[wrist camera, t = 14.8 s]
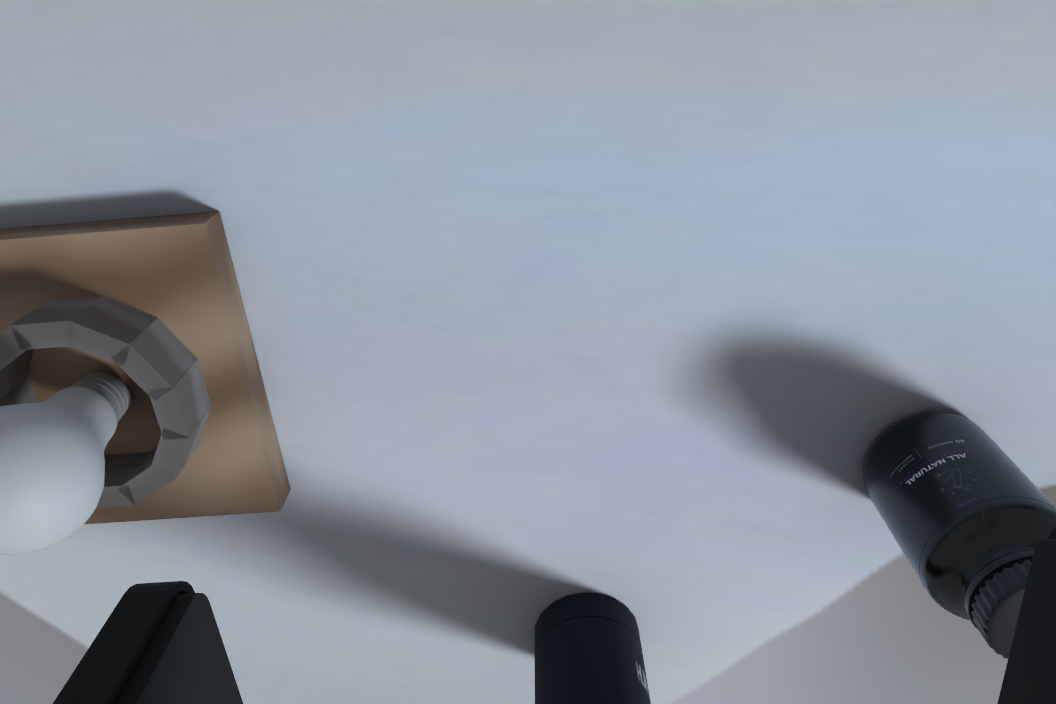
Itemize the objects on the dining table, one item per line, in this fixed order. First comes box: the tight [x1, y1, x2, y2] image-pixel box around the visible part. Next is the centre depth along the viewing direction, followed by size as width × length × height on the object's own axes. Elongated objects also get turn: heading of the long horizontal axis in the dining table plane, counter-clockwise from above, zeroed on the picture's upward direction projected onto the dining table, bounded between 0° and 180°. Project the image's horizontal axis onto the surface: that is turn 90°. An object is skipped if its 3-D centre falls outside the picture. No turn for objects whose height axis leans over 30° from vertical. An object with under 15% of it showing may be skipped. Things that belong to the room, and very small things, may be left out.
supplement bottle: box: [863, 412, 1056, 658], centre depth 39 cm, size 7×7×12 cm
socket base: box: [0, 212, 290, 524], centre depth 40 cm, size 16×14×5 cm
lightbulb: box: [0, 372, 130, 555], centre depth 35 cm, size 6×6×11 cm
